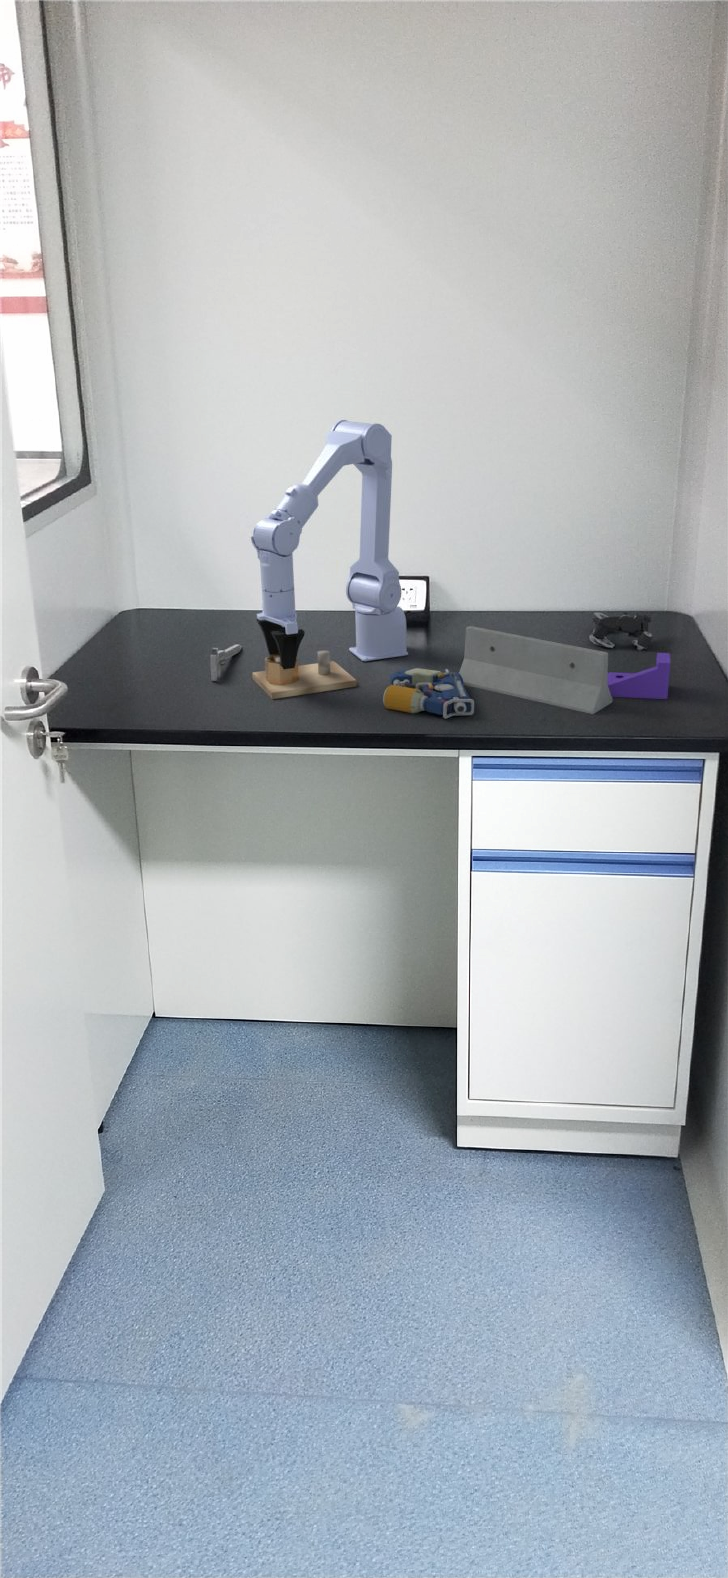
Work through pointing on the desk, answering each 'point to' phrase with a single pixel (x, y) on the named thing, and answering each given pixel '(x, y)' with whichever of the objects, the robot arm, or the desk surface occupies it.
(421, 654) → the desk surface
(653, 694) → the bracket
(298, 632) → the robot arm
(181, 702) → the desk surface
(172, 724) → the desk surface
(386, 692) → the toy blaster gun
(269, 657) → the ring
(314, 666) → the wooden peg board
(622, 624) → the bicycle component
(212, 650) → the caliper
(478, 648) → the barrier
